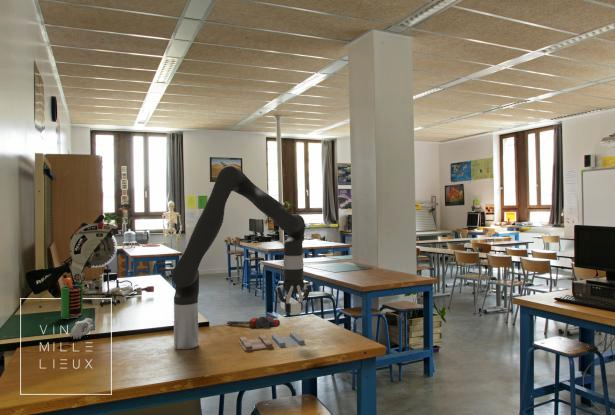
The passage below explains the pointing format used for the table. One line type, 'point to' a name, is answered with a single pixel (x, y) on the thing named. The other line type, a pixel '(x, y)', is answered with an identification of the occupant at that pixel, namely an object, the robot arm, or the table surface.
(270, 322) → the valve
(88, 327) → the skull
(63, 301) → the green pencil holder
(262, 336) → the cradle
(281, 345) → the grey channel bracket
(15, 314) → the table surface
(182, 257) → the robot arm
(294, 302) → the block
